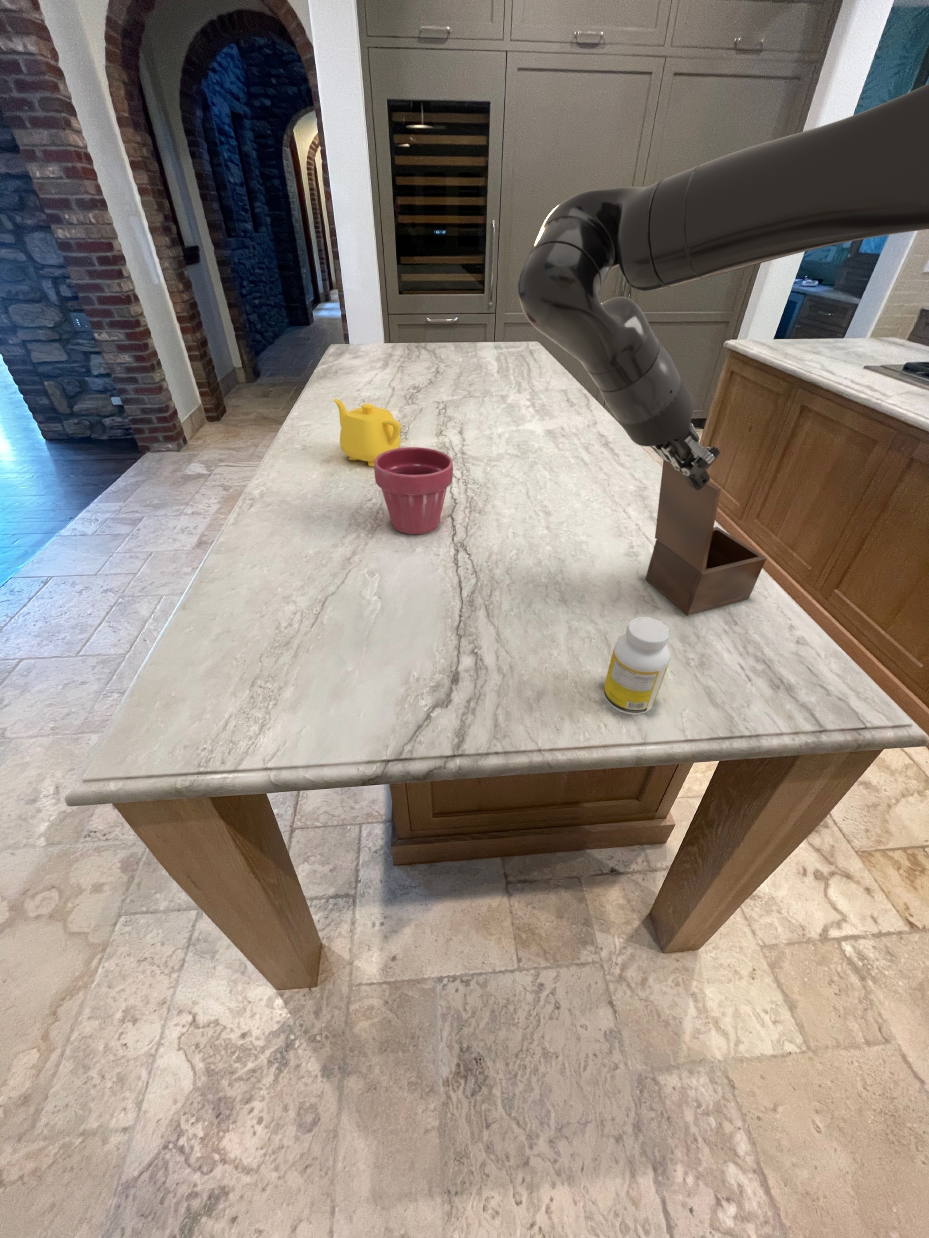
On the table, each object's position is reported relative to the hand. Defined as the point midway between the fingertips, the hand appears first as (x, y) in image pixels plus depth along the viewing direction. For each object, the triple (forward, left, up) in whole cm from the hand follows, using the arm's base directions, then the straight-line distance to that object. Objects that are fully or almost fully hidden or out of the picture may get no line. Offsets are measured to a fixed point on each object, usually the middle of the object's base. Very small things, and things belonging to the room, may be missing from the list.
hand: (700, 482), depth 70 cm
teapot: (+77, +26, -22) cm, 84 cm away
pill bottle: (-13, +15, -22) cm, 30 cm away
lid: (+3, -3, -7) cm, 8 cm away
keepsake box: (+3, -10, -22) cm, 24 cm away
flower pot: (+41, +26, -22) cm, 53 cm away
